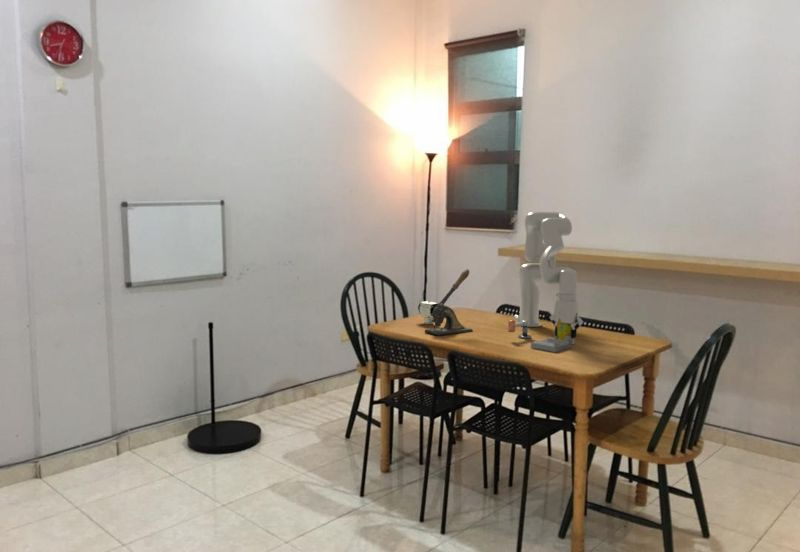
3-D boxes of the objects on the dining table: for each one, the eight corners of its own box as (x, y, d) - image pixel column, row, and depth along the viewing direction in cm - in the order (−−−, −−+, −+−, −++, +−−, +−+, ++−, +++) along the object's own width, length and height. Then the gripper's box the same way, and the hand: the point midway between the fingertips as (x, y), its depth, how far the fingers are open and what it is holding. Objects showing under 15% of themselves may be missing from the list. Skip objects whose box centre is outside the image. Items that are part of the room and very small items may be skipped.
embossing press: (423, 332, 314) (424, 270, 310) (461, 327, 327) (463, 268, 323) (436, 336, 304) (437, 272, 301) (475, 331, 317) (477, 270, 314)
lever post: (515, 337, 305) (516, 325, 304) (522, 335, 309) (523, 324, 308) (526, 339, 301) (527, 327, 300) (533, 337, 305) (534, 325, 304)
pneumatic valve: (423, 321, 342) (424, 298, 340) (440, 324, 333) (440, 301, 332) (416, 322, 338) (416, 299, 337) (432, 326, 330) (432, 302, 328)
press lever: (505, 331, 297) (505, 320, 296) (523, 327, 307) (524, 316, 307) (513, 332, 294) (514, 321, 293) (531, 328, 304) (532, 317, 304)
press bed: (530, 347, 283) (531, 341, 283) (546, 343, 293) (547, 336, 292) (555, 352, 275) (555, 345, 275) (571, 347, 284) (571, 341, 284)
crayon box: (572, 343, 294) (573, 317, 293) (574, 344, 291) (575, 318, 290) (556, 342, 294) (557, 317, 293) (557, 344, 291) (558, 318, 290)
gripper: (545, 295, 293) (543, 334, 296) (580, 300, 281) (578, 341, 284) (554, 294, 299) (552, 332, 301) (589, 298, 287) (587, 338, 289)
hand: (565, 336), depth 292 cm, fingers closed on crayon box, 7 cm apart
